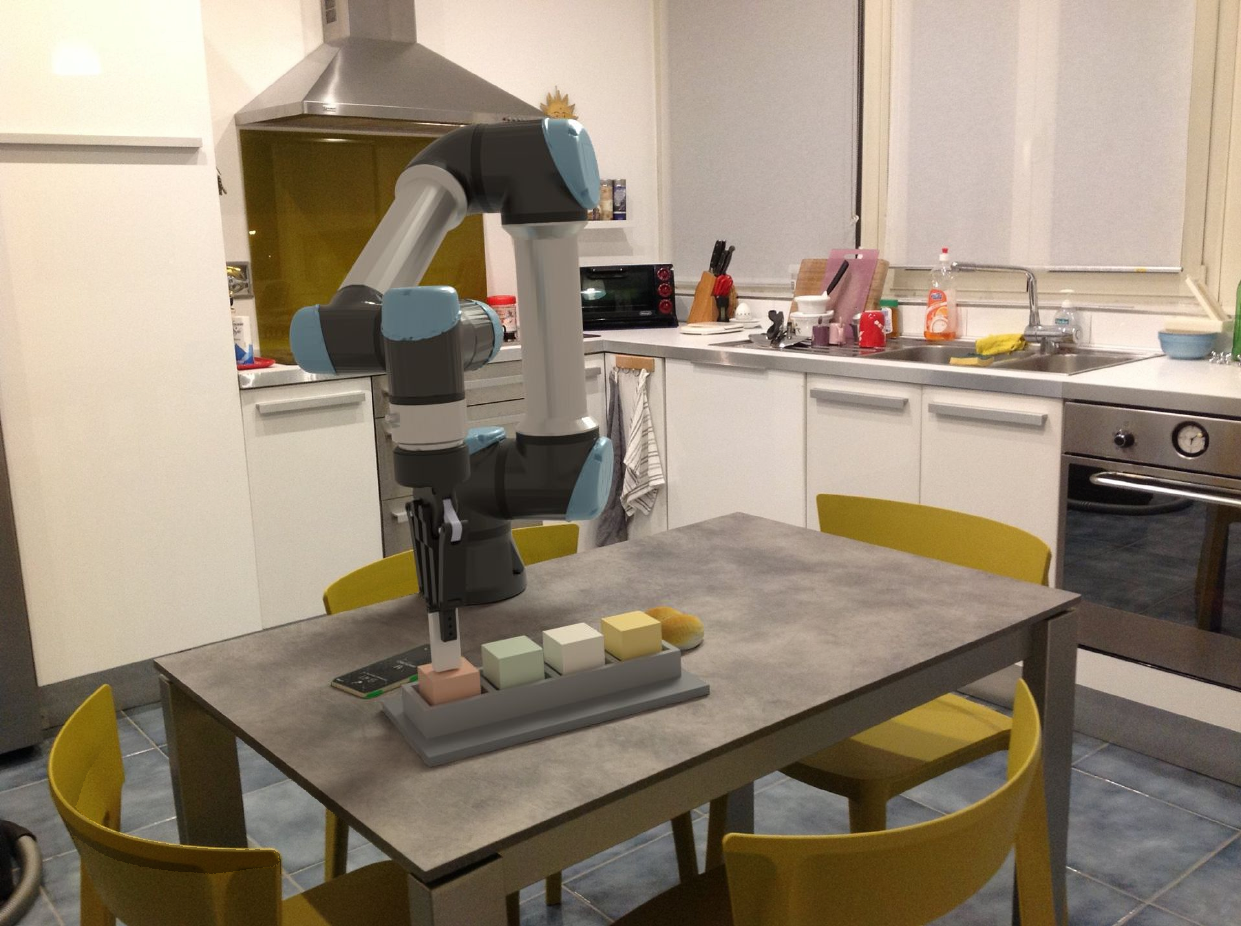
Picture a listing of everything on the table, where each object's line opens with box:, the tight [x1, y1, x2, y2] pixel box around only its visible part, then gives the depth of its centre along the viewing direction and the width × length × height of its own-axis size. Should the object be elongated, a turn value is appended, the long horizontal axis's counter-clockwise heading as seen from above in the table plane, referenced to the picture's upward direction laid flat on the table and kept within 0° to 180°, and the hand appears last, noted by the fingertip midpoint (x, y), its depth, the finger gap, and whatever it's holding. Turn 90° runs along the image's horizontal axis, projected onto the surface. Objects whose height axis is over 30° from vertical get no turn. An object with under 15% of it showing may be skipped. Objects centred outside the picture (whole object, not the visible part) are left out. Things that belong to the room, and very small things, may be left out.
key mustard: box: [600, 610, 662, 661], centre depth 127 cm, size 5×5×4 cm
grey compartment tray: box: [381, 640, 711, 768], centre depth 123 cm, size 16×32×4 cm, turn 118°
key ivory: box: [542, 622, 605, 675], centre depth 124 cm, size 5×5×4 cm
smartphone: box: [330, 643, 466, 699], centre depth 134 cm, size 8×1×15 cm
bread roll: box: [643, 606, 705, 651], centre depth 140 cm, size 8×9×4 cm
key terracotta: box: [417, 655, 481, 707], centre depth 118 cm, size 5×5×4 cm
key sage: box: [481, 634, 545, 690], centre depth 121 cm, size 5×5×4 cm
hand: (447, 667), depth 117 cm, fingers closed
